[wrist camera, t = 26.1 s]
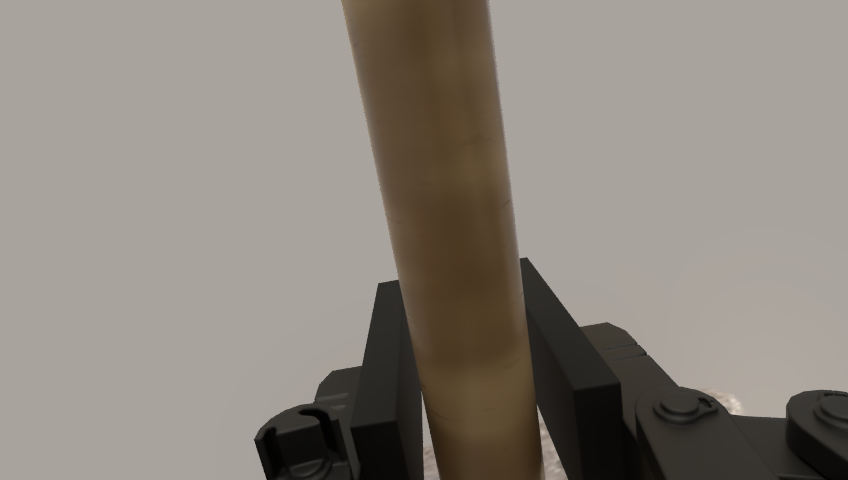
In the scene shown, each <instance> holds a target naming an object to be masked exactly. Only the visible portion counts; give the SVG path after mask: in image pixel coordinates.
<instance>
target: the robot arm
mask: <svg viewBox="0 0 848 480" xmlns="http://www.w3.org/2000/svg"><path fill="white" fill-rule="evenodd" d="M520 268H521V276H522V285H523V293H524V302H525V310H526V318H527V327H528V335H529V344H530V352H531V361H532V369H533V378H534V386H535V395H536V403H537V405H538V407H539V410H540V412H541V415H542V417H543V420H544V422H545V425H546V427H547V429H548V432H549V434H550V437H551V439H552V441H553V444H554V446H555V449H556V451H557V453H558V456H559V458H560V461H561V463H562V465H563V468H564V470H565V473H566V475H567V478H568V480H848V393H847V392H842V391H832V390H814V391H805V392H802V393H800V394H797V395H795V396H792V397H791V398H790V400H789V402H788V403H787V405H786V418H770V417H750V416H739V415H731V414H729V412H728V411H727V410H726V408H725V407H724V406H723V405H722V404H720V403H719V402H718V401H717V400H716V399H715V398H713V397H711V396H709V395H707V394H705V393H703V392H701V391H698V390H694V389H689V388H684V387H679V386H678V385H677V384H676V383H675V382H674V381H673V380H672V379H671V378H670V377H669V376H668V375H667V374H666V373H665V372H664V371H663V369H662V368H661V367H660V366H659V365H658V364H657V363H656V362H655V361H654V360H653V359H652V358H651V357H650V356H649V355H647V353H646V352H645V350H644V349H643V348H642V347H641V346H640V345H638V344H637V342H636V341H635V340H634V339H633V338H632V337H631V336H630V335H629V334H628V333H627V332H626V331H625V330H623V329H621V328H619V327H616V326H614V325H612V324H610V323H601V324H595V325H589V326H584V327H579V326H578V325H577V323H576V322H575V321H574V319H573V318H572V317H571V315H570V314H569V313H568V311H567V310H566V309H565V307H564V306H563V305H562V303H561V302H560V301H559V299H558V298H557V297H556V295H555V294H554V293H553V291H552V290H551V289H550V287H549V286H548V285H547V283H546V282H545V281H544V280H543V278H542V277H541V276H540V274H539V273H538V271H537V270H536V269H535V268H534V266H533V265H532V263H531V262H530V261H529V259H528V258H527V257H526V258H520ZM422 432H423V431H422V395H421V385H420V380H419V375H418V371H417V366H416V361H415V356H414V351H413V346H412V341H411V336H410V332H409V327H408V322H407V317H406V312H405V307H404V302H403V298H402V293H401V288H400V283H399V280H395V281H389V282H383V283H379V284H378V288H377V293H376V298H375V303H374V309H373V313H372V318H371V323H370V328H369V334H368V338H367V344H366V348H365V354H364V359H363V364H362V366H358V367H352V368H346V369H341V370H336V371H332V372H331V373H330V374H329V375H328V376H327V377H326V378H325V379H324V380H323V381H322V382H321V384H320V385H319V387H318V390H317V393H316V396H315V402H313V403H311V404H304V405H299V406H296V407H293V408H291V409H288V410H285V411H283V412H281V413H280V414H278V415H276V416H275V417H273V418H271V419H270V420H269V421H268V422H267V423H266V424H265V425H264V426H263V427H262V428H260V430H259V431H258V433H257V435H256V437H255V439H254V441H255V444H256V448H257V451H258V453H259V457H260V460H261V463H262V466H263V469H264V473H265V476H266V479H267V480H424V466H423V434H422Z"/></svg>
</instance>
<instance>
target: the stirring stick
mask: <svg viewBox="0 0 848 480" xmlns="http://www.w3.org/2000/svg"><path fill="white" fill-rule="evenodd" d="M341 1H342V5H343V10H344V15H345V20H346V25H347V30H348V34H349V40H350V44H351V49H352V54H353V59H354V64H355V69H356V74H357V78H358V83H359V88H360V93H361V98H362V103H363V107H364V113H365V117H366V122H367V127H368V132H369V137H370V142H371V147H372V151H373V156H374V161H375V166H376V171H377V176H378V181H379V185H380V190H381V195H382V200H383V205H384V210H385V215H386V219H387V224H388V229H389V234H390V239H391V244H392V249H393V254H394V258H395V263H396V268H397V273H398V278H399V283H400V288H401V293H402V298H403V302H404V307H405V312H406V317H407V322H408V327H409V332H410V336H411V341H412V346H413V351H414V356H415V361H416V366H417V371H418V375H419V380H420V385H421V390H422V395H423V400H424V404H425V409H426V414H427V419H428V423H429V429H430V434H431V438H432V444H433V448H434V453H435V458H436V463H437V468H438V473H439V478H440V480H546V479H545V471H544V462H543V454H542V445H541V437H540V428H539V420H538V412H537V403H536V395H535V386H534V378H533V369H532V361H531V352H530V344H529V335H528V327H527V318H526V310H525V302H524V293H523V285H522V276H521V268H520V259H519V251H518V243H517V234H516V225H515V217H514V208H513V200H512V192H511V183H510V175H509V166H508V158H507V149H506V141H505V132H504V124H503V115H502V107H501V98H500V90H499V82H498V74H497V65H496V56H495V48H494V40H493V31H492V23H491V15H490V6H489V0H341Z"/></svg>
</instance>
